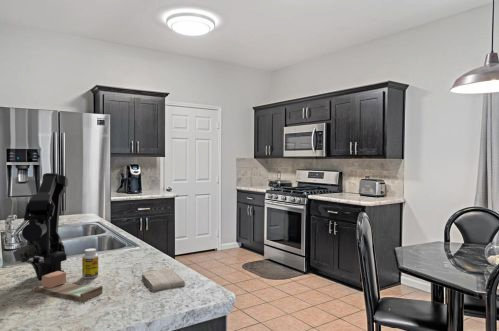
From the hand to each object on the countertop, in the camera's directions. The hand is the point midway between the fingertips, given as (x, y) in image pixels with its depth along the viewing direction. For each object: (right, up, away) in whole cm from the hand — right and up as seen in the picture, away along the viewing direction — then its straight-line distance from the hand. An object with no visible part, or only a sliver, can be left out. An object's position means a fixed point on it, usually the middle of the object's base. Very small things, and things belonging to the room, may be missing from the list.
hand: (40, 280), depth 125 cm
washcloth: (+40, -3, +6) cm, 41 cm away
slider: (+6, -1, -3) cm, 7 cm away
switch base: (+12, -2, -5) cm, 13 cm away
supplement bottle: (+12, -2, +11) cm, 17 cm away
